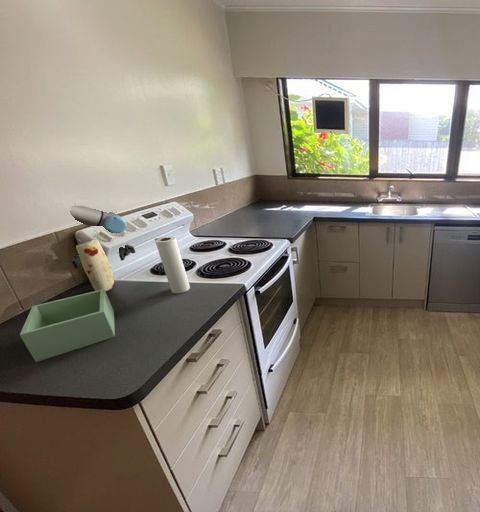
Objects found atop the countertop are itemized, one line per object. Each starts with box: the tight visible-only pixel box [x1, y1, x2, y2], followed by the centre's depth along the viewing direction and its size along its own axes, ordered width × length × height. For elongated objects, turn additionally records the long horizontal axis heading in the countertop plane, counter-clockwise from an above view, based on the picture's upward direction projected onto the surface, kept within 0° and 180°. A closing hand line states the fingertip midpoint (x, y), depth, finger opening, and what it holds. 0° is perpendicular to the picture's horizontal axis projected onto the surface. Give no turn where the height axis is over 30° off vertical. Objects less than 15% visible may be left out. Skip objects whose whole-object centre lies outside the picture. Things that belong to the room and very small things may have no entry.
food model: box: [75, 239, 116, 293], centre depth 110 cm, size 10×7×20 cm
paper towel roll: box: [154, 236, 191, 294], centre depth 109 cm, size 7×6×21 cm
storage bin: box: [19, 289, 116, 363], centre depth 86 cm, size 18×16×9 cm
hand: (98, 260), depth 112 cm, fingers open, 13 cm apart
